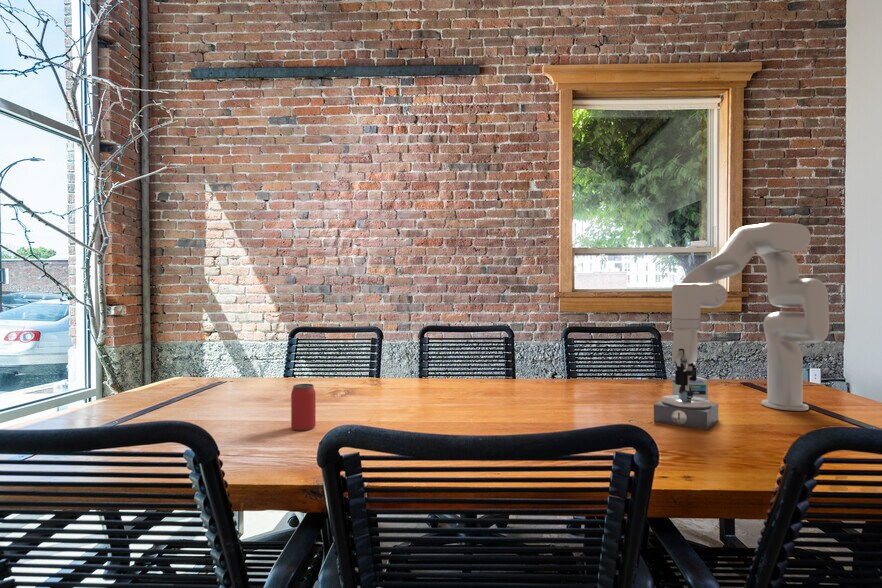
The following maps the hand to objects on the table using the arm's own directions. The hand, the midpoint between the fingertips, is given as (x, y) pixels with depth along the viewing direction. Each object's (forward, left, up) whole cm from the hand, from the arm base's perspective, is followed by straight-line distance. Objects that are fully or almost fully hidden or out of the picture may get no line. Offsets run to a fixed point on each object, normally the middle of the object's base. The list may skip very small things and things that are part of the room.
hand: (686, 382), depth 139 cm
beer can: (+79, -79, -11) cm, 112 cm away
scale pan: (0, 0, -6) cm, 6 cm away
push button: (+1, 0, -5) cm, 5 cm away
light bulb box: (-16, -3, -12) cm, 20 cm away
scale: (0, 0, -11) cm, 11 cm away
